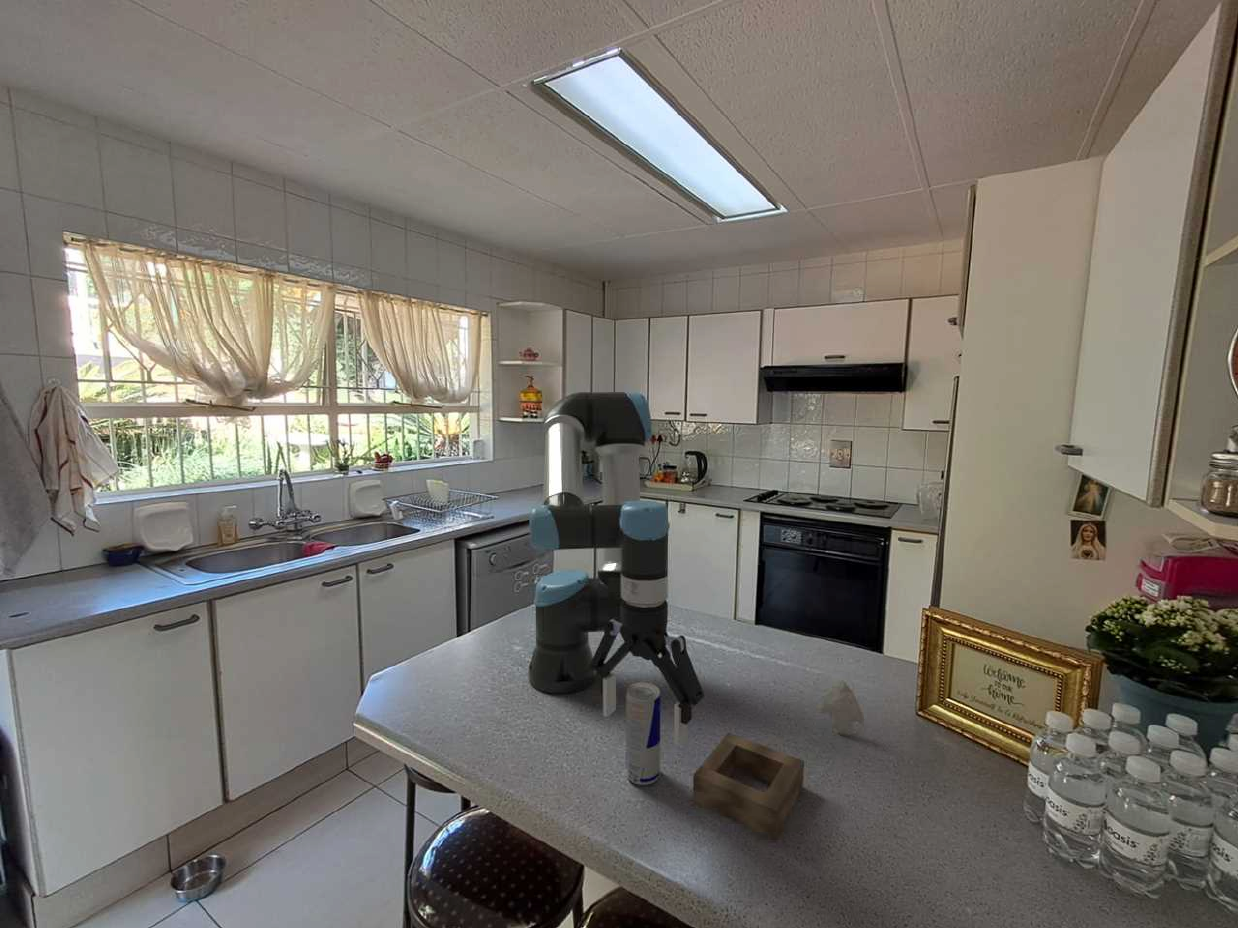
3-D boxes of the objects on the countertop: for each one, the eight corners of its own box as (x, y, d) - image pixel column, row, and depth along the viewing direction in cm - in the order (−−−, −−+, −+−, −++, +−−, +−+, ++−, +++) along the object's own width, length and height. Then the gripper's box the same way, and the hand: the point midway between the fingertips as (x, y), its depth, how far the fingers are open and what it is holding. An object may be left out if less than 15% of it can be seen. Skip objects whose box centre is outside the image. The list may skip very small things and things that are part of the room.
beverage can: (657, 789, 87) (658, 701, 85) (622, 784, 88) (623, 697, 87) (661, 766, 93) (662, 683, 91) (629, 762, 94) (629, 679, 92)
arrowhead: (865, 736, 101) (868, 685, 100) (861, 744, 99) (864, 691, 98) (820, 721, 106) (823, 672, 104) (816, 728, 103) (819, 678, 102)
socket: (692, 801, 85) (693, 774, 84) (727, 756, 95) (728, 732, 95) (775, 840, 77) (776, 811, 77) (802, 786, 88) (804, 760, 87)
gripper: (568, 590, 91) (569, 712, 93) (705, 625, 77) (702, 767, 79) (595, 579, 97) (596, 693, 99) (727, 608, 83) (724, 740, 85)
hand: (643, 726), depth 89 cm, fingers open, 13 cm apart
